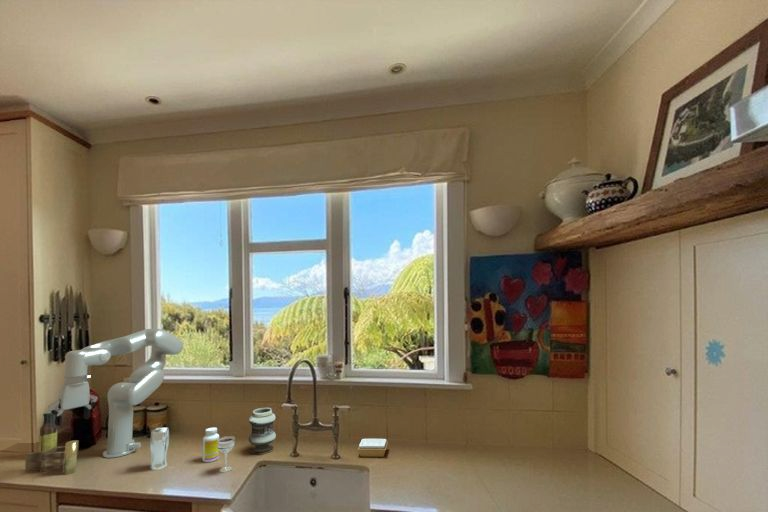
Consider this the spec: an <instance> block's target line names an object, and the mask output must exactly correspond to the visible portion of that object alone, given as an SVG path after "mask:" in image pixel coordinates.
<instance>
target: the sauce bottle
mask: <svg viewBox="0 0 768 512" xmlns="http://www.w3.org/2000/svg"><path fill="white" fill-rule="evenodd" d="M42 416H43V422H42V423H43V424H42V426H41V427H40V428H39V437H38V438H39V441H38V445H39V447H38V452H44V451H49V450H51V449H53V448H54V447H58V426H57V425H56V424H55V415H54V414H52V413H51V412H50V410H49V411H45V412H44V413H43V415H42Z"/></svg>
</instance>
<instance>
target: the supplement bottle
mask: <svg viewBox="0 0 768 512" xmlns="http://www.w3.org/2000/svg"><path fill="white" fill-rule="evenodd" d="M218 439H220V434H219V433H218V428H217V427H209V428H205V435H204V436H203V437H202V459H201V460H202V461H203V462H204V463H212V462H214V461H217V460H218V459H219V458H220V451H219V450H218V447H217V445H218Z"/></svg>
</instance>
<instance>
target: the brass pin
mask: <svg viewBox="0 0 768 512" xmlns="http://www.w3.org/2000/svg"><path fill="white" fill-rule="evenodd" d="M64 446H65V460H64V471H63V475H71V474H74V473H76V472H77V463H78V462H77V460H78V459H77V458H78V456H77V448H78V449H79V447H78V439H77V440H76V439H74V440H70V441H66V442H65V445H64Z"/></svg>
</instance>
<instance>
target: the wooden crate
mask: <svg viewBox="0 0 768 512" xmlns="http://www.w3.org/2000/svg"><path fill="white" fill-rule="evenodd" d="M77 440H78V439H77ZM79 443H80V440H78V448H77V457H78V456H79V447H80V444H79ZM65 446H66V445H63V446H57V447H54V448H53V449H51V450H49V451H44V452H39V451H34V452H27V453H26V455H25V456H26V457H25V465H24V467H25V469H24V470H25V472H26V471H27V472H28V471H29V472H30V471H38V470H40V472H39V473H42V474H43V473H51V472H53V473H54V472H55V473H56V472H64V460H65Z"/></svg>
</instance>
